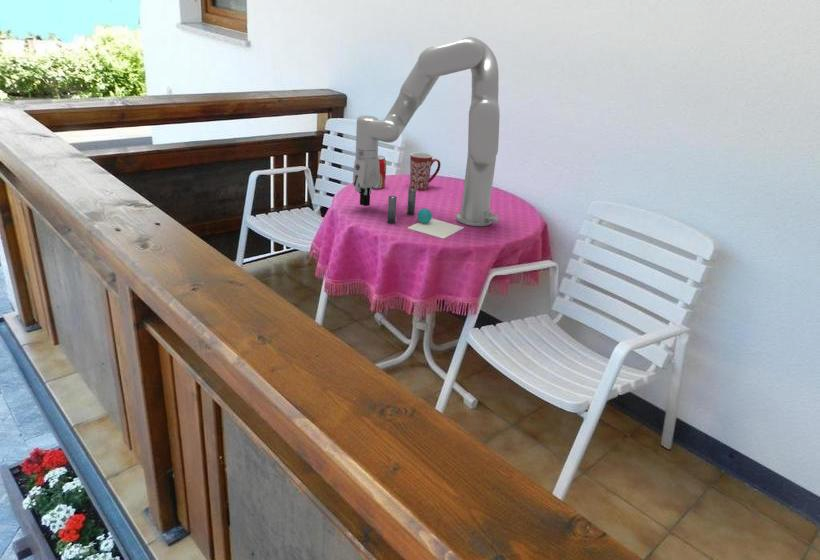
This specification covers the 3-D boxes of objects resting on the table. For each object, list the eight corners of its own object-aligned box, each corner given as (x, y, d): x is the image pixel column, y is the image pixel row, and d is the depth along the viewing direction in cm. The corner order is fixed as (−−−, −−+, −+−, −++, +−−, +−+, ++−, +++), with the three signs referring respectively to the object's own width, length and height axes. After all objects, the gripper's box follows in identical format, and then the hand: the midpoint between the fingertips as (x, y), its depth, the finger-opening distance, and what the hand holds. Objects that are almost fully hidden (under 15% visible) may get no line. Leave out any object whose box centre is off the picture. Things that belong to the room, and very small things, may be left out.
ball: (429, 204, 201) (418, 211, 204) (422, 207, 197) (412, 214, 200) (437, 216, 201) (426, 223, 204) (430, 220, 197) (419, 227, 200)
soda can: (384, 190, 233) (386, 160, 228) (366, 188, 233) (367, 158, 228) (385, 185, 239) (387, 155, 234) (368, 183, 239) (369, 154, 234)
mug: (410, 191, 234) (412, 157, 228) (405, 184, 242) (407, 151, 236) (441, 191, 237) (444, 157, 231) (435, 184, 245) (438, 152, 239)
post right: (415, 214, 209) (417, 189, 205) (411, 215, 207) (413, 190, 203) (409, 212, 211) (411, 187, 207) (405, 214, 209) (407, 189, 205)
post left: (396, 222, 200) (398, 196, 196) (392, 224, 198) (393, 198, 194) (390, 220, 201) (391, 195, 197) (385, 222, 199) (387, 196, 195)
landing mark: (464, 227, 200) (464, 227, 200) (443, 239, 189) (443, 238, 189) (428, 218, 206) (428, 217, 206) (406, 228, 196) (406, 227, 195)
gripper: (362, 159, 194) (360, 212, 202) (388, 152, 206) (385, 202, 214) (344, 155, 198) (343, 207, 206) (370, 148, 210) (368, 198, 217)
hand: (364, 204), depth 210 cm, fingers closed
